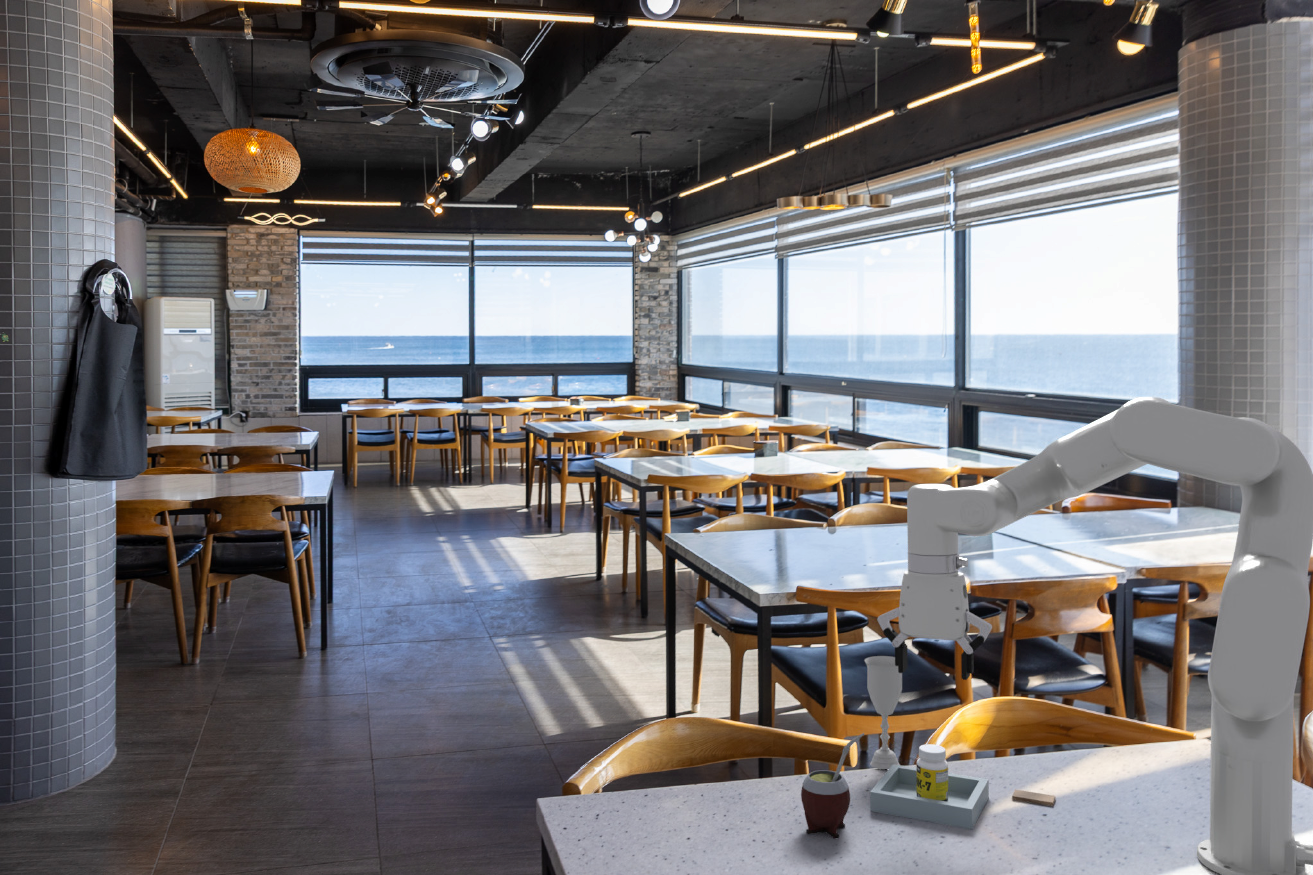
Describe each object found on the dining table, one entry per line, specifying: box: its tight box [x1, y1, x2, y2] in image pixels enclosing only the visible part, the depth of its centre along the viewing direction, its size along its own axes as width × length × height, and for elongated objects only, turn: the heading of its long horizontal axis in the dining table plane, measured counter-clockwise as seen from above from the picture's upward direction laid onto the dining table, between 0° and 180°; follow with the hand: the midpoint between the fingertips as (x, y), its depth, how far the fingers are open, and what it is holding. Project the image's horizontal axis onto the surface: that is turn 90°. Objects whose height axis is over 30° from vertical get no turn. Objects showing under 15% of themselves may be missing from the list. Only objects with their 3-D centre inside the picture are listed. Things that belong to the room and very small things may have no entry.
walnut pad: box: [1011, 789, 1056, 807], centre depth 161 cm, size 6×3×1 cm, turn 62°
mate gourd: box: [800, 732, 865, 840], centre depth 151 cm, size 8×8×15 cm
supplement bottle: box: [916, 743, 949, 802], centre depth 160 cm, size 5×5×8 cm
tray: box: [869, 764, 990, 830], centre depth 160 cm, size 15×13×3 cm
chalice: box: [863, 655, 903, 770], centre depth 177 cm, size 7×7×18 cm
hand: (933, 674), depth 159 cm, fingers open, 9 cm apart
